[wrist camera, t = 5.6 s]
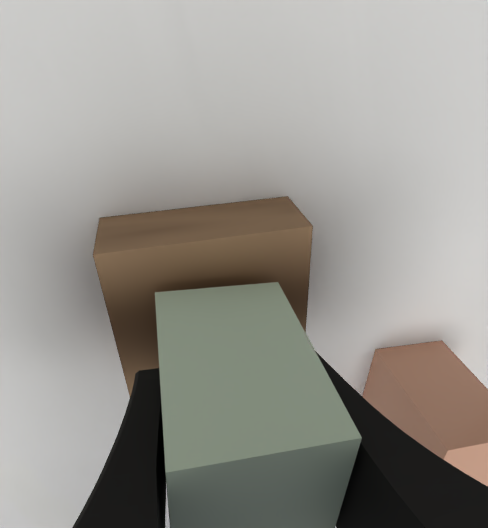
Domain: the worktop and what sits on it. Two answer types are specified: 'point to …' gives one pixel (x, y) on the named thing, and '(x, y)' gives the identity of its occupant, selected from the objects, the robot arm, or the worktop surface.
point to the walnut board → (195, 263)
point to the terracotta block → (433, 402)
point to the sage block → (248, 413)
